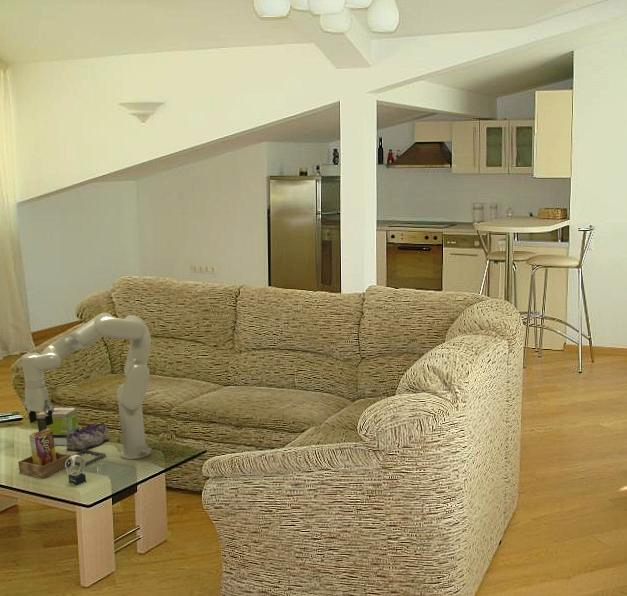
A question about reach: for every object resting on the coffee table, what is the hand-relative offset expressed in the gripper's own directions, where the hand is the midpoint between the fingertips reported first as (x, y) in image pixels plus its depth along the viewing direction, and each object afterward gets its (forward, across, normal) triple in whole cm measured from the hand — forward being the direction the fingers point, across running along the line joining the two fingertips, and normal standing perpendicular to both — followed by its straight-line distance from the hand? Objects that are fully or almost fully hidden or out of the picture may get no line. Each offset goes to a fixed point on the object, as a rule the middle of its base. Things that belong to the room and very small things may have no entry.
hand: (41, 423), depth 385 cm
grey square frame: (+21, +6, +14) cm, 26 cm away
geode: (+21, -6, +28) cm, 36 cm away
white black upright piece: (+21, +22, -5) cm, 31 cm away
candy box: (+19, -1, -1) cm, 19 cm away
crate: (+20, -1, -1) cm, 20 cm away
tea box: (+21, -22, +26) cm, 40 cm away
